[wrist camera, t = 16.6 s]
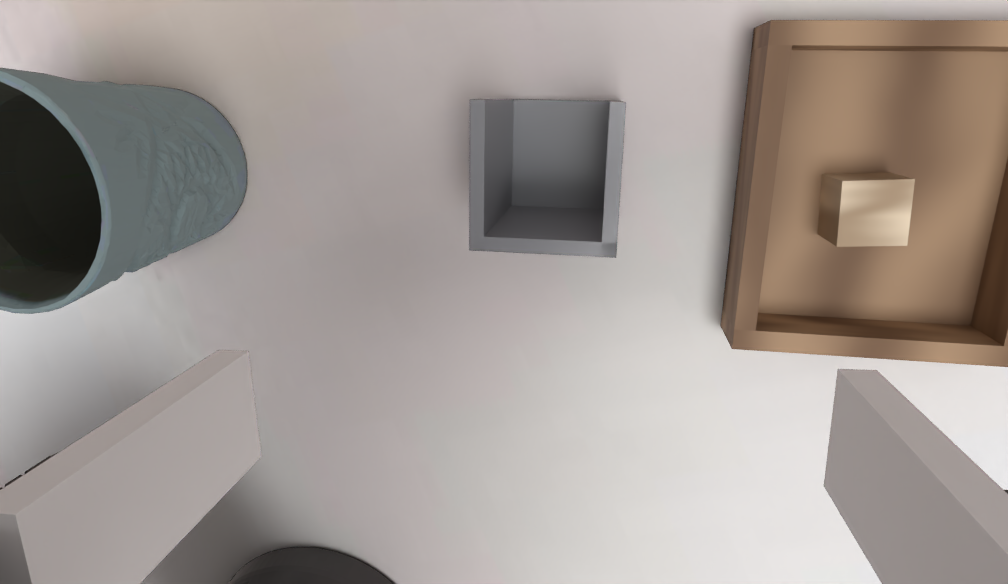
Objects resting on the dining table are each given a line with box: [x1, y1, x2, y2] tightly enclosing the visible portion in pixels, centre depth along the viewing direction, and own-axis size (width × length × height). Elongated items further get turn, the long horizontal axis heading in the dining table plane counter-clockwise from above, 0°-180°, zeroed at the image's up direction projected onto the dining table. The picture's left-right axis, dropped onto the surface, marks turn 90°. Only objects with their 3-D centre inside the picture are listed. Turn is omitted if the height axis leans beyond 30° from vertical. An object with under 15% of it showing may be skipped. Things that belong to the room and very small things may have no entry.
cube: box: [817, 172, 915, 247], centre depth 32 cm, size 3×3×3 cm
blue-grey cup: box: [0, 68, 247, 314], centre depth 33 cm, size 10×10×12 cm
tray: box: [721, 20, 1008, 367], centre depth 32 cm, size 13×15×4 cm
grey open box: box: [469, 99, 626, 258], centre depth 31 cm, size 6×6×9 cm
